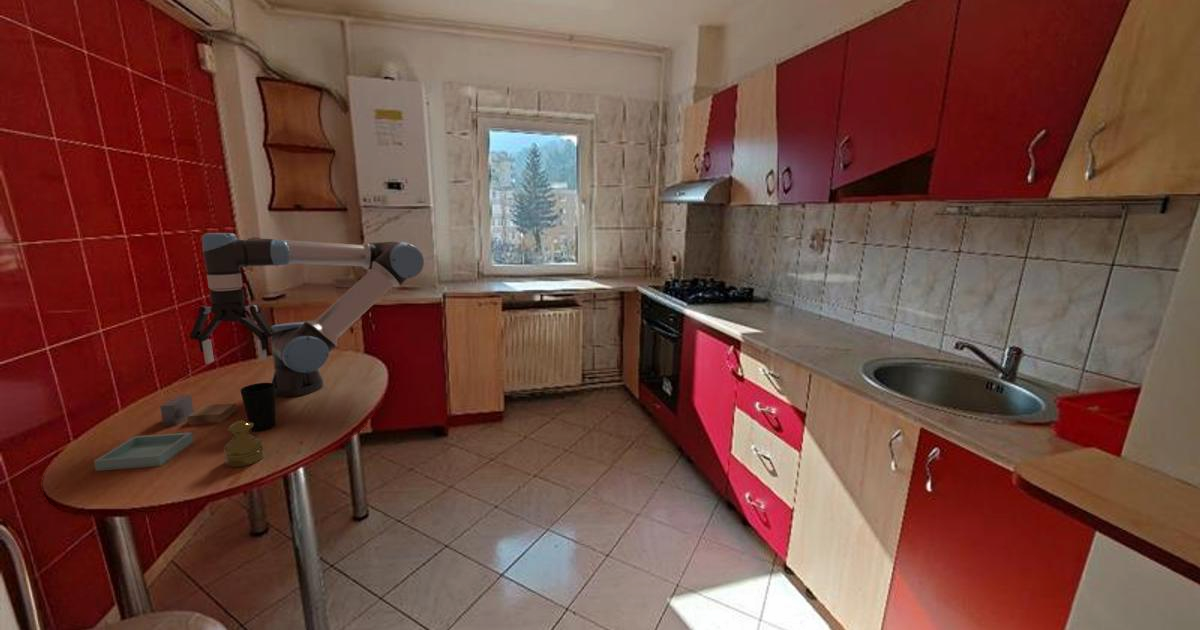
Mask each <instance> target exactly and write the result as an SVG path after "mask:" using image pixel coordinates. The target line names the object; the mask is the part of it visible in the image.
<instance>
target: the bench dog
mask: <svg viewBox="0 0 1200 630" xmlns="http://www.w3.org/2000/svg"><path fill="white" fill-rule="evenodd" d="M193 412H195V411H194V407H193V399H192V394H183V395H178V396H176V397H174V398H172V399H169V401H167V402H165V403H164V404H162V405H160V413H161V418H162V419H161V420H162V422H163V427H171V426H174V427H175V426H178V425H179V424H181V423H183V422H184V421H185V420H188V415H190V414H192V413H193Z"/></svg>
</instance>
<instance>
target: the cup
mask: <svg viewBox="0 0 1200 630" xmlns="http://www.w3.org/2000/svg"><path fill="white" fill-rule="evenodd" d="M240 393H241V399H242V402H243V405H244V409H245V413H246V417H247V421H250V422H253V424H254V426H253V427H252V428H251V429H250V431H251V432H254V433H258V432H260V433H261V432H265V431H269V430H271V429H273V428H275V426H276V396H275V385H274V384H273V383H271V382H260V383H252V384H248V385H247V386H243V387H242V388H241V389H240Z"/></svg>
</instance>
